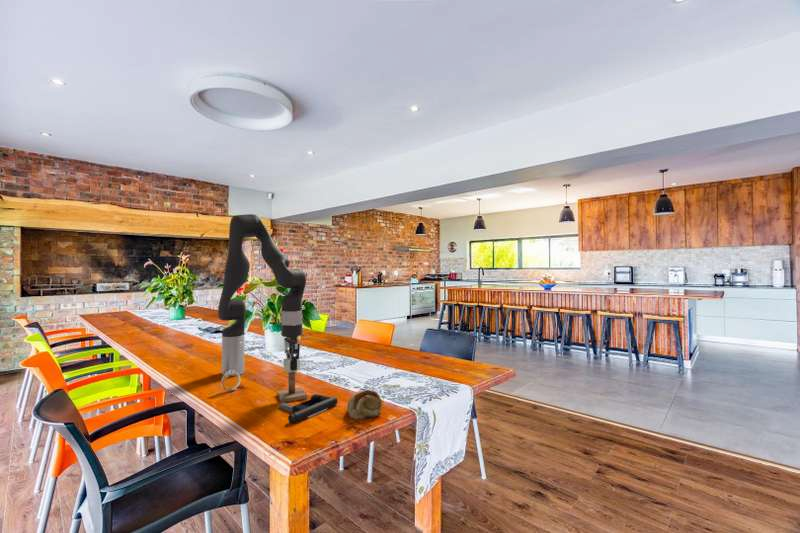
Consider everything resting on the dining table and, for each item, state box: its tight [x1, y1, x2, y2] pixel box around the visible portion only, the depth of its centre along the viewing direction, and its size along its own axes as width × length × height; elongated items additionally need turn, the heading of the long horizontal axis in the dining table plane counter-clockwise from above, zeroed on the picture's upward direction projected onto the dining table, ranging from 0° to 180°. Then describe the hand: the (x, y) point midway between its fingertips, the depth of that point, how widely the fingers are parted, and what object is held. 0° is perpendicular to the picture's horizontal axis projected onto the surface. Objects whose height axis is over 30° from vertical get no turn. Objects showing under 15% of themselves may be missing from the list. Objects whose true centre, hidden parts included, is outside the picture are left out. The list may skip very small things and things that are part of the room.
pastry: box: [346, 389, 383, 420], centre depth 123 cm, size 14×12×8 cm
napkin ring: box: [282, 357, 301, 373], centre depth 136 cm, size 6×6×4 cm
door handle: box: [278, 393, 338, 424], centre depth 125 cm, size 3×20×16 cm
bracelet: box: [221, 370, 242, 392], centre depth 142 cm, size 7×3×8 cm, turn 132°
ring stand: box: [276, 372, 308, 404], centre depth 136 cm, size 9×9×12 cm
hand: (291, 368), depth 136 cm, fingers closed on napkin ring, 5 cm apart
